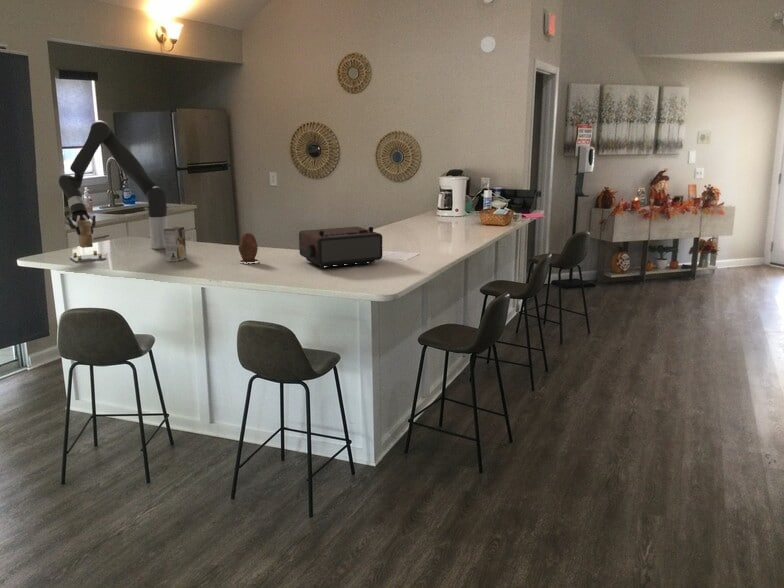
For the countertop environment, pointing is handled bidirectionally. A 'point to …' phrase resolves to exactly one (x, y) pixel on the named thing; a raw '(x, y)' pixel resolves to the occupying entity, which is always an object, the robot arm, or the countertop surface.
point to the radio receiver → (340, 246)
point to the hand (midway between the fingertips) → (85, 233)
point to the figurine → (248, 248)
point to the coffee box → (175, 243)
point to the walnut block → (85, 233)
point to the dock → (87, 257)
